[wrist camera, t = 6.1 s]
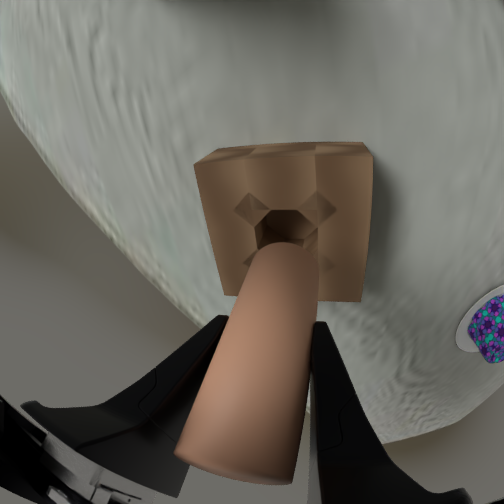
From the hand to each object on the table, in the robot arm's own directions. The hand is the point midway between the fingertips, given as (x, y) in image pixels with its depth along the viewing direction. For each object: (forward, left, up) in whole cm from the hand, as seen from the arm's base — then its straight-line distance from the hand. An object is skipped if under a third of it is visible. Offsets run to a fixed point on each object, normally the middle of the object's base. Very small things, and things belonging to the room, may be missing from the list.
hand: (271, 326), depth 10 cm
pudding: (-24, +15, -14) cm, 32 cm away
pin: (0, 0, -3) cm, 3 cm away
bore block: (+1, +2, -13) cm, 14 cm away
